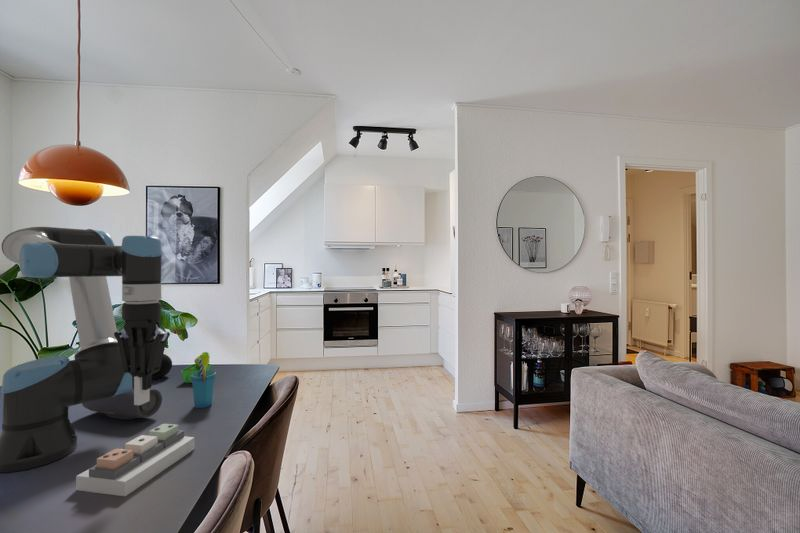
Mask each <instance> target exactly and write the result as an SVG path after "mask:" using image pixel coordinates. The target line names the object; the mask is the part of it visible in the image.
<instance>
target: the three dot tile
mask: <svg viewBox="0 0 800 533" xmlns="http://www.w3.org/2000/svg"><path fill="white" fill-rule="evenodd" d="M131 460H133V450H127V449H125V448H117V447H116V448H114V449H112V450H110V451H109V452H107V453H105V454H103V455H101V456H99V457H97V458H96V465H97V468H100V469H109V470H116V469H117V468H119V467H121V466H122V465H124V464H126V463H127V462H129V461H131Z"/></svg>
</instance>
